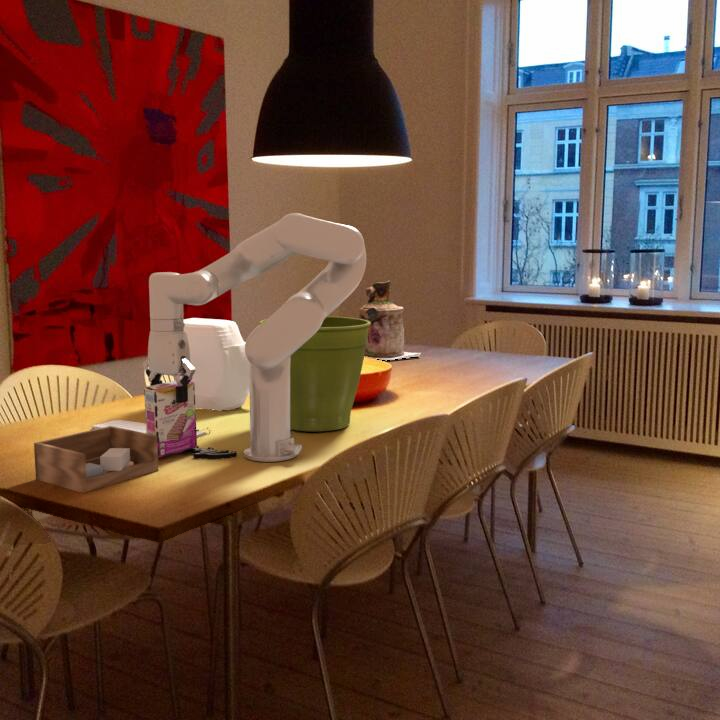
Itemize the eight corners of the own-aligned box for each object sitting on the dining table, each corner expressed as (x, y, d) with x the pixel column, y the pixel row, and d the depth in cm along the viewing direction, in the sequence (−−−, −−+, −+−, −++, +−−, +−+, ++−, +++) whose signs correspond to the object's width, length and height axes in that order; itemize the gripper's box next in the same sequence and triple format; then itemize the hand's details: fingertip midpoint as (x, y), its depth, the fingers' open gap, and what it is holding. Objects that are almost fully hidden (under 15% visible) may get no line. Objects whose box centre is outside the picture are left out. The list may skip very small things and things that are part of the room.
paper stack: (202, 396, 274) (201, 316, 270) (271, 406, 260) (270, 321, 256) (155, 408, 256) (152, 322, 252) (225, 419, 242) (224, 328, 238)
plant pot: (322, 444, 215) (322, 330, 211) (238, 427, 233) (236, 321, 228) (391, 423, 238) (392, 320, 234) (309, 409, 256) (309, 313, 252)
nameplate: (246, 448, 207) (222, 458, 198) (246, 454, 207) (223, 464, 198) (153, 435, 218) (127, 445, 209) (153, 441, 219) (127, 451, 210)
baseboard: (123, 422, 240) (91, 431, 230) (123, 412, 240) (91, 420, 229) (212, 435, 226) (182, 445, 216) (212, 424, 226) (182, 434, 215)
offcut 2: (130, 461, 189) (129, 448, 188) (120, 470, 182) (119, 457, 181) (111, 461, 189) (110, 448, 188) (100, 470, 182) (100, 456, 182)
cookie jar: (387, 351, 375) (388, 277, 371) (422, 358, 356) (424, 281, 351) (340, 355, 361) (340, 279, 356) (374, 363, 342) (375, 283, 337)
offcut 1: (103, 484, 181) (103, 466, 181) (86, 489, 178) (85, 470, 177) (90, 480, 184) (89, 462, 183) (73, 485, 180) (72, 467, 180)
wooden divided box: (158, 470, 191) (157, 435, 190) (82, 493, 175) (81, 454, 174) (111, 459, 200) (110, 425, 199) (35, 479, 184) (33, 443, 183)
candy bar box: (159, 459, 198) (154, 390, 195) (147, 454, 202) (142, 386, 198) (199, 447, 206) (195, 381, 203) (186, 443, 210) (182, 378, 206)
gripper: (205, 327, 197) (207, 402, 200) (154, 321, 207) (156, 393, 210) (181, 330, 191) (183, 407, 194) (129, 324, 201) (132, 398, 204)
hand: (169, 399), depth 202 cm, fingers open, 8 cm apart
